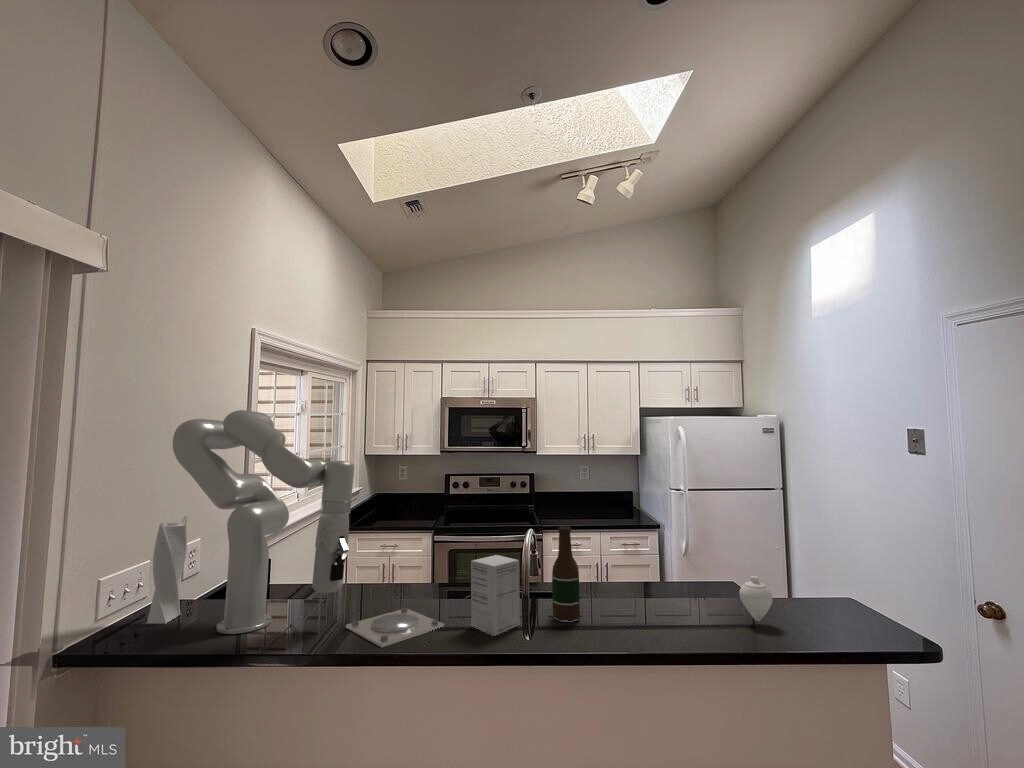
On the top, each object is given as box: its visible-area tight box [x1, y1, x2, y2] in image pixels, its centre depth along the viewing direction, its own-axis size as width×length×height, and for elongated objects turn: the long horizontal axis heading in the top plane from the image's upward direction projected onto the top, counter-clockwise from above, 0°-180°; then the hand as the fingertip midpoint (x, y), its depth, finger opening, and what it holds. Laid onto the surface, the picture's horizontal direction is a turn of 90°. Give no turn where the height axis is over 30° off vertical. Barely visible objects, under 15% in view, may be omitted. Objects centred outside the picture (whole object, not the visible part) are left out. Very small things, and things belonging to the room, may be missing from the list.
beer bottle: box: [551, 525, 581, 621], centre depth 128 cm, size 8×8×24 cm
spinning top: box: [739, 575, 774, 622], centre depth 121 cm, size 8×8×12 cm
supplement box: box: [470, 554, 521, 637], centre depth 122 cm, size 10×9×17 cm
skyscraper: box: [141, 515, 188, 625], centre depth 130 cm, size 8×8×28 cm
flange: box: [345, 607, 445, 648], centre depth 121 cm, size 18×18×2 cm
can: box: [311, 543, 345, 594], centre depth 123 cm, size 8×8×12 cm
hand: (329, 576), depth 122 cm, fingers closed on can, 7 cm apart
